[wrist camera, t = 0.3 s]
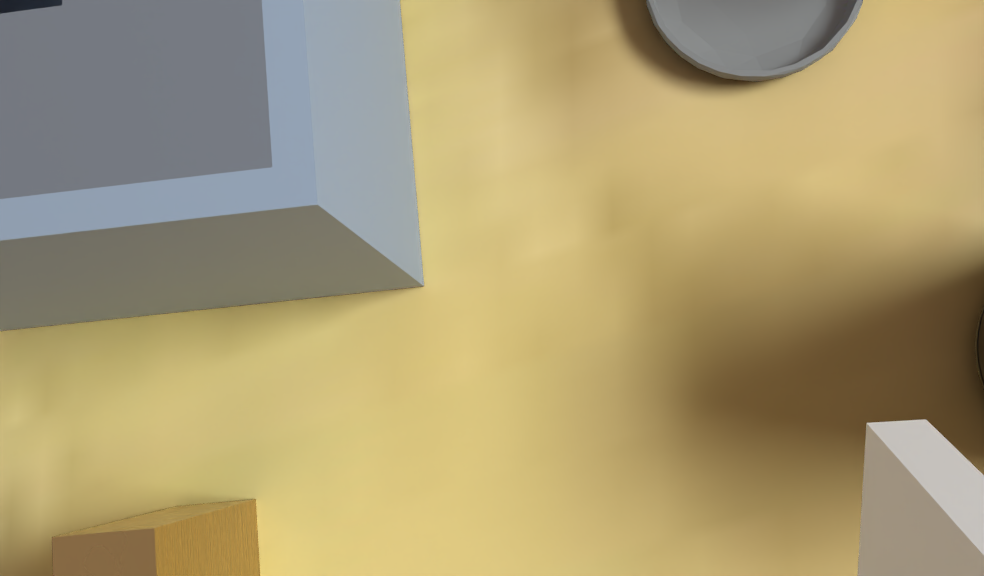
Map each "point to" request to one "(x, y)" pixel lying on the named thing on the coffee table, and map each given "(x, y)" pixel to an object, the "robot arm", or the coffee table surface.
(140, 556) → the tan flat block
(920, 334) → the coffee table surface
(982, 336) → the supplement container
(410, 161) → the coin box
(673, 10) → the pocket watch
